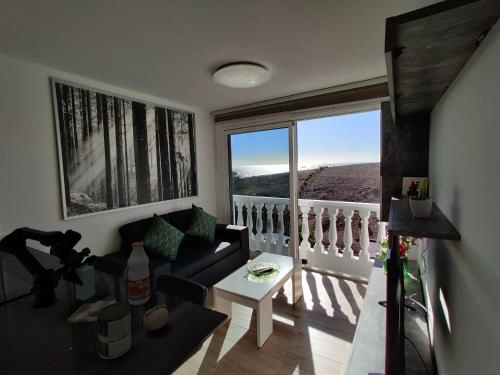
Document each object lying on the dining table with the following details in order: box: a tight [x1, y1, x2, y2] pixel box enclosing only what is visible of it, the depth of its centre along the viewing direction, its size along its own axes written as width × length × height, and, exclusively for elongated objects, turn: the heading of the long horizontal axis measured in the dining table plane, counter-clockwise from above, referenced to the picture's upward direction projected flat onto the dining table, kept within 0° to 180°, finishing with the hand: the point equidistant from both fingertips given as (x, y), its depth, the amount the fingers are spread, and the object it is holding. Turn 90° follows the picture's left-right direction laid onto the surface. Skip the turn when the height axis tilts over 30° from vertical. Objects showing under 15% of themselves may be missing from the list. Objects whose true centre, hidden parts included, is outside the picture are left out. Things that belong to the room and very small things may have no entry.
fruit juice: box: [127, 241, 151, 306], centre depth 119 cm, size 9×9×28 cm
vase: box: [94, 276, 111, 298], centre depth 124 cm, size 7×7×9 cm
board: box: [66, 299, 119, 323], centre depth 109 cm, size 16×12×4 cm
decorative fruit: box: [143, 304, 169, 331], centre depth 98 cm, size 9×8×10 cm
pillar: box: [74, 265, 96, 301], centre depth 110 cm, size 5×5×14 cm
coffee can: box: [97, 302, 132, 360], centre depth 88 cm, size 10×10×14 cm
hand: (87, 282), depth 109 cm, fingers closed on pillar, 5 cm apart
